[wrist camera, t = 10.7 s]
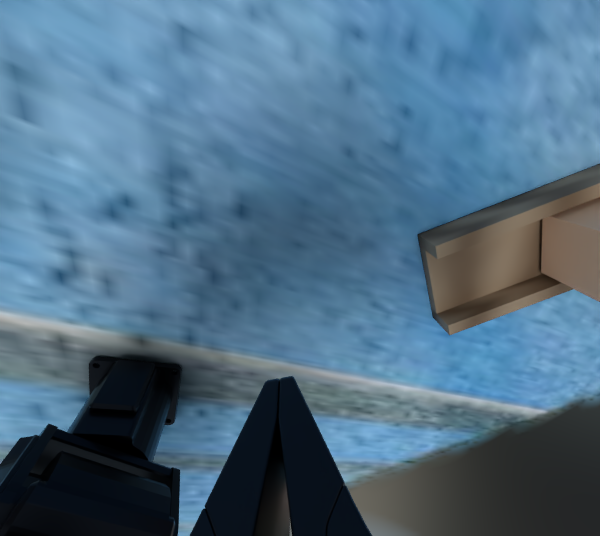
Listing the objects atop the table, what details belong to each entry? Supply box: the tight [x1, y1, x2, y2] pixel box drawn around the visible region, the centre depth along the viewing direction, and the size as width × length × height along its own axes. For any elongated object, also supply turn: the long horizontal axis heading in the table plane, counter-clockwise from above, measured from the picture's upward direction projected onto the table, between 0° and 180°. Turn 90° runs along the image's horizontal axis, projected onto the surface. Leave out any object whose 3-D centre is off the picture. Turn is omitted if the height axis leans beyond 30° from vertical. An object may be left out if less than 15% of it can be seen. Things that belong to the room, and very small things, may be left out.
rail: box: [418, 164, 600, 335], centre depth 22 cm, size 17×8×2 cm, turn 110°
